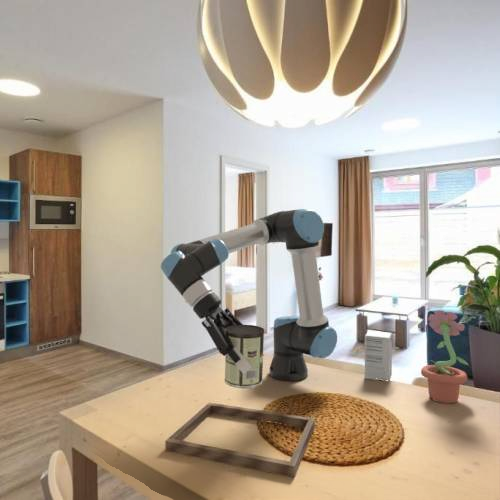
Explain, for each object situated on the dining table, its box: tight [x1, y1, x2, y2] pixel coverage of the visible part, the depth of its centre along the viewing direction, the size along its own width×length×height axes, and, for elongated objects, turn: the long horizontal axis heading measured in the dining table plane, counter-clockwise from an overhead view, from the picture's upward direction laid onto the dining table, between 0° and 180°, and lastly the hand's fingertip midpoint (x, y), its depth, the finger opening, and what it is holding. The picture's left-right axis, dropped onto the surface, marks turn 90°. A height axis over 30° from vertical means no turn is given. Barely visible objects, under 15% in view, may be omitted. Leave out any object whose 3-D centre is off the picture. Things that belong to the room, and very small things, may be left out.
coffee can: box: [224, 324, 265, 390], centre depth 103 cm, size 10×10×14 cm
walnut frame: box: [164, 402, 316, 478], centre depth 103 cm, size 33×25×2 cm
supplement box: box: [364, 330, 393, 383], centre depth 151 cm, size 10×9×17 cm
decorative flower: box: [420, 309, 469, 404], centre depth 129 cm, size 15×14×30 cm
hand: (254, 364), depth 102 cm, fingers closed on coffee can, 10 cm apart
